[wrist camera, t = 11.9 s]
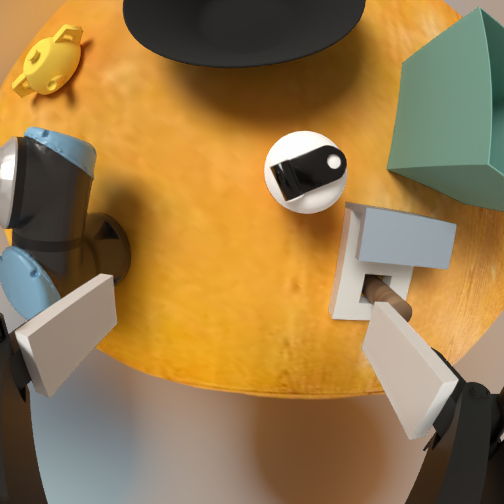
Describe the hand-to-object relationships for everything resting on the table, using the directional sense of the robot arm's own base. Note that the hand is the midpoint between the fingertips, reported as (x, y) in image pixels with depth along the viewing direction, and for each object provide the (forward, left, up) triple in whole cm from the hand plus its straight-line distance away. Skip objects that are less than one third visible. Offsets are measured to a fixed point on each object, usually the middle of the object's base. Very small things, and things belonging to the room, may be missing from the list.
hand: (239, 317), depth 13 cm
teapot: (-45, +31, -35) cm, 65 cm away
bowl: (-5, +38, -35) cm, 52 cm away
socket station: (+22, -5, -35) cm, 41 cm away
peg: (+22, -9, -35) cm, 42 cm away
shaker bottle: (+5, +8, -35) cm, 36 cm away
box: (+34, +22, -35) cm, 54 cm away
